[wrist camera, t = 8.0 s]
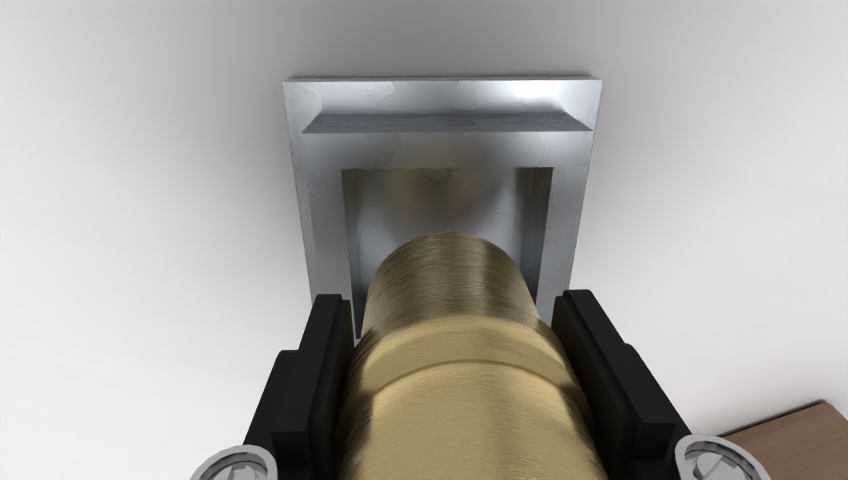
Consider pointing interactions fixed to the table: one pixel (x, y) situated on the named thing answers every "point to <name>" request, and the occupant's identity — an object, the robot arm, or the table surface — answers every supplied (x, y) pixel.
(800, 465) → the wooden block
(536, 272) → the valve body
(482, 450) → the cylinder
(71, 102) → the table surface
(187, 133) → the table surface
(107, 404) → the table surface
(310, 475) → the robot arm
